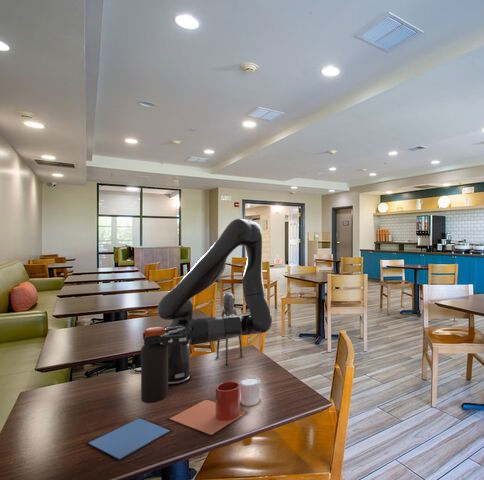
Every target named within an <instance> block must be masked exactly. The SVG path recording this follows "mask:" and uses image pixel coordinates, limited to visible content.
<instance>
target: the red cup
mask: <svg viewBox="0 0 484 480" xmlns="http://www.w3.org/2000/svg"><path fill="white" fill-rule="evenodd" d="M215 402H216V419H218V420H220V421H228V420H232V419H235V418H236V417H238V416H239V413H240V410H241V409H240V407H241V405H240V404H241V392H240V382H239V381H233V380H229V381H224V382H221V383H219V384H217V385H216V386H215Z"/></svg>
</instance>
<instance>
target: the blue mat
mask: <svg viewBox="0 0 484 480" xmlns="http://www.w3.org/2000/svg"><path fill="white" fill-rule="evenodd" d="M170 431H171V430H169V429H167V428H165V427H163V426H160V425H158V424H155V423H153V422H150V421H147V420H144V419H142V418H140V417H139V418H137V419H135V420H133V421H131V422H129V423H127V424H125V425H123V426H120V427H118V428H116V429H114V430H112V431H110V432H107V433H106V434H104V435H102V436H99V437H97V438H95V439H93V440H91V441H89V442H88V443H87V444H88V445H89V446H92V447H94V448H95V449H97V450H100V451H101V452H103V453H106V454H108V455H109V456H110V457H112V458H115V459H117V460H119V461H120V460H122V459H124V458H125V457H127V456H129V455H130V454H133V453H134V452H136V451H139V450H140V449H141V448H143V447H145V446H147V445H149V444H150V443H151V442H153V441H155V440H156V439H157V438H160V437H161V436H163V435H166V434H167V433H168V432H170Z"/></svg>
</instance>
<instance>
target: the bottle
mask: <svg viewBox="0 0 484 480" xmlns="http://www.w3.org/2000/svg"><path fill="white" fill-rule="evenodd" d="M163 327H164V326H154V327H148V328H146V329H145V330H144V332H145V337H148V336H156V335H159V337H160V335H161V334H164V328H163ZM140 370H141V372H140V376H141V377H140V399H141V402H142V403H144V404H156V403H159V402H162V401H163V400H165V399H167V398H168V396H169V385H168V345H166V346H164V345H163V344H160V343H159V344H152V345H144V344H143V345H142V347H141V348H140Z"/></svg>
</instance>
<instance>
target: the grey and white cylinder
mask: <svg viewBox="0 0 484 480" xmlns="http://www.w3.org/2000/svg"><path fill="white" fill-rule="evenodd" d="M261 383H262V381H261V379H260V378H259V377H247V378H243V379H242V380H240V381H239V384H240V404H241V405H243V406H248V407H249V406H254V405H256V404H258V403H259V401H260V392H261Z"/></svg>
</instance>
